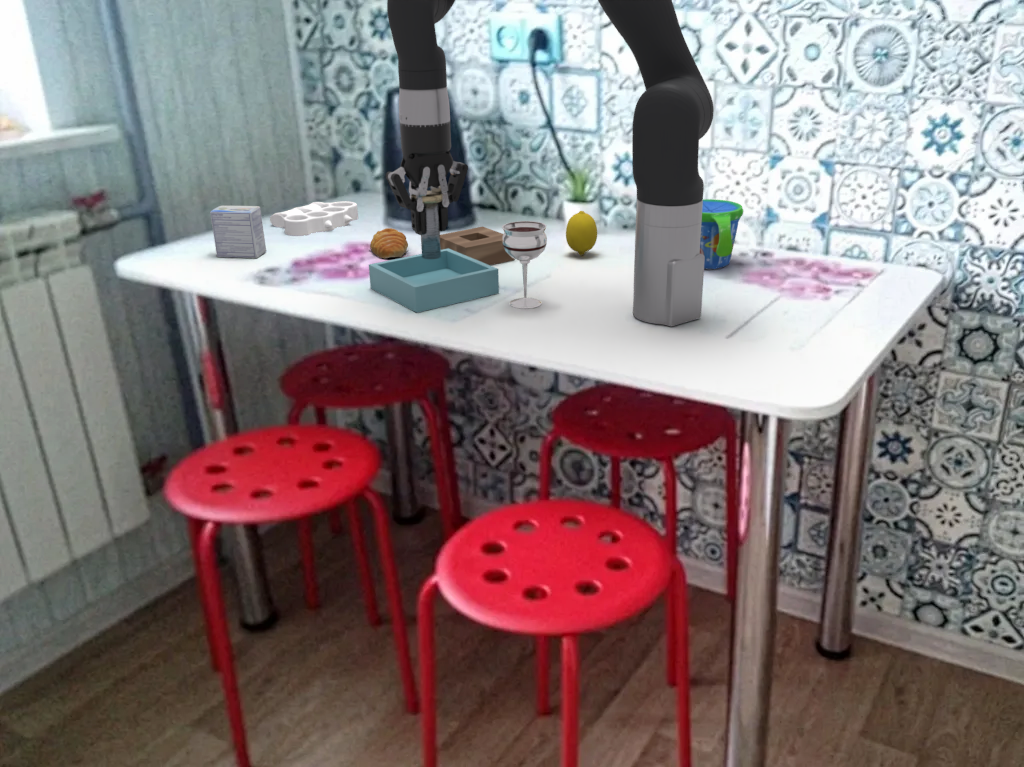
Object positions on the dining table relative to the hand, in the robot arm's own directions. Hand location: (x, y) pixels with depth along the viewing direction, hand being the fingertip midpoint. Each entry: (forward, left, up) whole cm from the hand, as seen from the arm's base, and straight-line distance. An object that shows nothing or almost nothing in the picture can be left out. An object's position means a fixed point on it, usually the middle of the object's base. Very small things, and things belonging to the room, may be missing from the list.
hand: (430, 231), depth 151 cm
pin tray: (0, 0, -10) cm, 10 cm away
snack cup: (-17, -44, -10) cm, 48 cm away
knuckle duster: (+52, -3, -10) cm, 53 cm away
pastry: (+25, -6, -10) cm, 27 cm away
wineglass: (-14, -8, -10) cm, 19 cm away
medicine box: (+40, +17, -10) cm, 44 cm away
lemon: (+1, -31, -10) cm, 33 cm away
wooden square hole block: (+11, -15, -10) cm, 21 cm away
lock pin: (0, 0, -4) cm, 4 cm away
